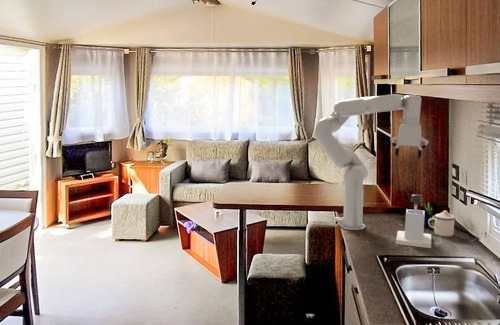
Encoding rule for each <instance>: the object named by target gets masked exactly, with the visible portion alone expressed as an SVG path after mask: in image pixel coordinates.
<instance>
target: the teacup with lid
mask: <svg viewBox="0 0 500 325" xmlns="http://www.w3.org/2000/svg"><path fill="white" fill-rule="evenodd" d="M427 220H428V221H427V223H428V226H429V227H430V228H432V229H434V232H433V233H434V234H435V235H437V236H441V237H447V238H448V237H452V236H454V234H455V233H454V231H455V230H454V229H455V221H456V216H454V215H453V214H451V213H449V212H448V210H443V211H442V212H440V213H436V214H435V215H434V217H430V218H429V219H427ZM432 220H434V226H433V225H432V224H431V221H432Z"/></svg>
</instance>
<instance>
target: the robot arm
mask: <svg viewBox="0 0 500 325" xmlns="http://www.w3.org/2000/svg"><path fill="white" fill-rule="evenodd" d="M421 106H422V97H421V96H420V95H418V96H417V94H409V95H408V94H407V95H404V94H399V93H398V94H397V93H396V94H395V93H393V94H386V95H376V96H361V97H355V98H348V99H347V98H346V99H340V100H338V101H336V102H335V104H334V106H333V112H332V113H331V114H330V115H329V116H326V117H323V118H321V119H319V121H318V122H317V124H316V126H315V129H314V136H315V139H316V141H317V143H318V144H319V145H320V147H321V148H322V149H323V150H324V152H325V154H326V155H327V156H328V158H330V160H331V161H332V162H333V164H334V165H335V167H337V168H340V169H341V168H342V169H343V168H344V170H345V171H344V174H343V188H344V189H343V190H344V192H343V194H344V195H343V217H342V216H341V217H338V216H335V217H334V221H335V222H337V223H339V226H340V227H341V228H342V229H345V230H350V231H361V230H364V229H365V228H366V225H365V224H364V223H363V212H364V211H363V208H364V182H365V181H366V179H367V177H368V174H369V172H368V171H369V170H368V168H367V166H366V165H365V164H364V162H363V161H362V160H361V159H360V158H359V157H358V155H357V154H356V152H355V151H353V149H351V148H349V147H343V145H342V144H341V143H340V142H339V140H338V139H337V138H336V137H335V136H334V135H333V133H335V132H338V131H339V130H340V129H341V127H343V125H344V124H345V123H346V122H347V121H348V120H349V118H350V117H353V116H361V115H371V114H374V113H375V114H376V113H382V112H383V113H384V112H392V111H393V112H394V111H399V110H402V118H399V119H398V121H399V122H401V123H400V125H399V128H398V133H397V134H398V135H396V136H394V137H392V138H390V139H389V140H390V142H391V144H392V147H394V149H395V153H394V155H395V157H396V158H398V157H399V155H400V148H399V147H400V146H405V147H416V148H418V151H417V159H418V160H420V158H422V151H423V149H425V148H427V146H428V144H429V143H430V141H429V140H427V139H426V138H425V137H422V128H421V124H420V119H421V109H422V108H421ZM395 140H397V143H396V142H395ZM421 142H423V143H424V144H423V145H422V144H421Z"/></svg>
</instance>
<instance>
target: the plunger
mask: <svg viewBox="0 0 500 325" xmlns="http://www.w3.org/2000/svg"><path fill="white" fill-rule="evenodd" d="M422 195H423V194H418V193H417V194H416V193H413V194H411V196H410V202H411V203H413V204H414V205H413V206H414V207H413V208H414V209H413V210H414V214H417V210H418V204H420V203H422Z"/></svg>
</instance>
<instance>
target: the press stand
mask: <svg viewBox="0 0 500 325" xmlns="http://www.w3.org/2000/svg"><path fill="white" fill-rule="evenodd" d="M405 212H406V213H405V222H404V224H405V226H404V230H397V234H396V238H395V244H396V245H400V246H410V247H418V248H425V249H426V248H427V249H431V248H432V233H426V232H425V233H424V231H425V216H426V214H425V212H426V211H425V210H420V209H417V214H414V209H408V208H406V210H405Z"/></svg>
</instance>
